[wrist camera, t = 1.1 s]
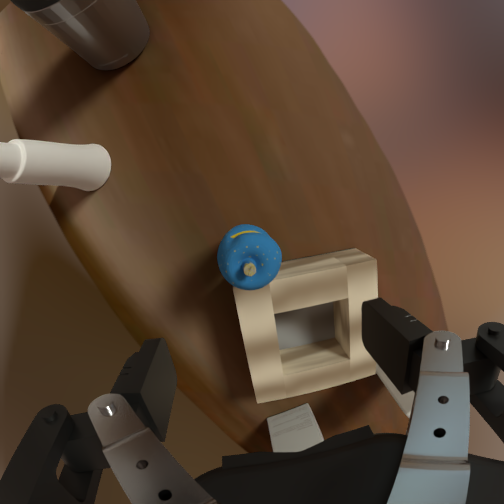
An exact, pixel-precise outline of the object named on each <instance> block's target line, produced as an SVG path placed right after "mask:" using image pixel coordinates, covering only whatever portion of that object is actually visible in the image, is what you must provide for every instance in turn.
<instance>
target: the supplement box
mask: <svg viewBox="0 0 504 504" xmlns="http://www.w3.org/2000/svg"><path fill="white" fill-rule="evenodd" d="M267 422H268V427H269V432H270V438H271V443H272V448H273V452H299V451H303V450H305V449H307V448H309V447H312V446H314V445H316V444H318V443H320V442H322V441H324V438H323V436H322V433H321V430H320V428H319V426H318V423H317V421H316V419H315V417H314V415H313V412H312V410H311V408H310V406H309V404H308V403H306V404H304V405H301V406H299V407H296V408H294V409H291V410H288V411H286V412H283V413H280V414H277V415H275V416H272V417H269V418H267Z"/></svg>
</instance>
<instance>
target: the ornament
mask: <svg viewBox="0 0 504 504" xmlns="http://www.w3.org/2000/svg"><path fill="white" fill-rule="evenodd" d="M217 261H218V266H219V269H220V271H221V273H222V275H223V277H224V278H225V279H226V280H227V281H228V282H229V283H230V284H231V285H233V286H234V287H236V288H239V289H242V290H257V289H260V288H263V287H265V286H266V285H268V284H269V283H270V282H271V281H272V280H273V279H274V278H275V277H276V275H277V274H278V272H279V269H280V266H281V261H282V255H281V250H280V248H279V246H278V245H277V243H276V242H275V241H274V240H273V239H272V238H270V236H269V235H268V234H267V233H266V232H265V231H264V230H263V229H261V228H259V227H257V226H253V225H248V224H242V225H238V226H235V227H234V228H232V229H231V230H230V231H229V232H227V234H226V235H225V236H224V237H223V239H222V241H221V243H220V245H219V249H218V253H217Z"/></svg>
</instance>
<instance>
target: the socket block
mask: <svg viewBox="0 0 504 504" xmlns="http://www.w3.org/2000/svg"><path fill="white" fill-rule="evenodd" d="M233 292H234V297H235V302H236V307H237V312H238V317H239V321H240V326H241V331H242V336H243V341H244V345H245V350H246V355H247V359H248V364H249V369H250V373H251V378H252V382H253V387H254V391H255V396H256V400H257V403H263V402H268V401H273V400H278V399H283V398H288V397H293V396H297V395H302V394H306V393H310V392H315V391H319V390H323V389H326V388H330V387H334V386H338V385H341V384H345V383H348V382H352V381H355V380H358V379H361V378H365V377H368V376H371V375H374V374H376V362H375V360H374V359H373V358H372V357H371V355H370V354H369V353H368V352H367V350H366V349H365V347H364V345H363V342H362V312H361V307H362V303H363V302H364V301H368V300H372V299H375V298H378V284H377V259H375V258H373V257H371V256H369V255H367V254H365V253H363V252H361V251H360V250H358V249H356V248H352V249H346V250H341V251H336V252H331V253H326V254H320V255H315V256H310V257H305V258H299V259H294V260H289V261H283V262H281V266H280V269H279V272H278V274H277V275H276V277H275V278H274V279H273V280H272V281H271V282H270V283H269V284H268V285H266V286H265V287H263V288H260V289H257V290H242V289H239V288H236V287H234V286H233Z"/></svg>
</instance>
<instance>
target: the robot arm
mask: <svg viewBox="0 0 504 504" xmlns="http://www.w3.org/2000/svg"><path fill="white" fill-rule="evenodd" d="M11 1H12V2H13V3H14V4H15V5H16V6H17V7H19V8H20V9H21V10H23V11H24V12H25V13H27V14H28V15H29V16H30V17H32V18H33V19H34V20H36V21H37V22H38V23H40V24H41V25H42V26H43V27H45V28H46V29H47V30H49V31H50V32H51V33H52V34H54V35H55V36H56V37H57V38H59V39H60V40H61V41H62V42H63V43H65V44H66V45H67V46H68V47H70V48H71V49H72V50H73V51H74V52H76V53H77V54H78V55H79V56H80V57H82V58H83V59H84V60H86V61H87V62H88V63H89V64H90V65H91V66H93V67H94V68H96V69H99V70H113V69H117V68H119V67H122V66H124V65H126V64H128V63H129V62H131V61H132V60H133V59H135V58H136V57H137V56H138V55H139V54H140V53H141V52H142V50H143V49H144V47H145V46H146V44H147V42H148V39H149V34H150V32H149V26H148V24H147V22H146V20H145V18H144V16H143V14H142V12H141V10H140V8H139V6H138V4H137V2H136V0H11ZM361 312H362V342H363V345H364V347H365V349H366V350H367V352H368V353H369V354H370V355H371V357H372V358H373V359H374V360H375V362H376V363H377V364H378V365H379V367H380V368H381V369H382V370H383V372H384V373H385V374H386V375H387V377H388V378H389V379H390V381H391V382H392V383H393V384H394V386H395V387H396V388H397V389H398V391H399V392H400V393H401V395H403V394H406V393H408V392H411V391H414V393H415V395H414V399H413V404H412V409H411V414H410V418H409V422H408V427H407V431H406V435H403V434H396V433H376V434H373V432H372V431H371V429H370V427H369V425H367V426H364V427H361V428H358V429H355V430H352V431H348V432H345V433H342V434H338V435H335V436H333V437H331V438H329V439H327V440H324V441H322V442H320V443H318V444H316V445H314V446H312V447H309V448H307V449H305V450H303V451H299V452H254V453H247V454H240V455H231V456H222V467H219V468H216V469H214V470H211V471H208V472H206V473H204V474H202V475H200V476H199V477H197V478H196V479H193V478H192V477H191V476H190V475H189V474H188V473H187V472H186V471H185V469H184V468H183V467H182V466H181V465H180V464H179V463H178V462H177V461H176V460H175V458H174V457H173V456H172V455H171V454H170V453H169V451H168V450H167V449H166V448H165V447H164V446H163V444H162V443H161V442H164V441H165V438H166V433H167V428H168V423H169V418H170V413H171V408H172V403H173V399H174V394H175V390H176V385H177V376H176V371H175V368H174V365H173V362H172V359H171V356H170V353H169V350H168V347H167V344H166V341H165V339H164V338H156V339H147V340H145V341H144V343H143V345H142V347H141V349H140V351H139V352H135V353H134V354H133V355H132V356H131V357H129V358H128V359H127V361H126V363H125V364H124V366H123V369H122V370H121V372H120V375H119V376H118V378H117V380H116V382H115V384H114V386H113V388H112V390H111V392H110V394H106V395H103V396H100V397H98V398H97V399H95V400H94V401H93V402H92V403H91V404H90V405H89V407H88V412H85V413H80V414H75V415H70V414H69V412H68V411H67V409H66V408H65V407H64V406H63V405H60V404H54V405H50V406H47V407H45V408H43V409H42V410H40V411H39V412H38V414H37V415H36V416H35V418H34V420H33V421H32V423H31V425H30V426H29V428H28V430H27V432H26V433H25V435H24V437H23V439H22V440H21V442H20V444H19V446H18V447H17V449H16V451H15V453H14V455H13V457H12V459H11V460H10V462H9V464H8V466H7V468H6V470H5V472H4V474H3V476H2V478H1V480H0V504H94V502H95V498H96V494H97V490H98V486H99V482H100V478H101V474H102V470H103V469H104V468H112V470H113V472H114V474H115V476H116V477H117V479H118V481H119V483H120V484H121V486H122V488H123V489H124V491H125V493H126V494H127V496H128V497H129V499H130V501H131V502H132V504H504V461H499V460H494V459H490V458H485V457H481V456H477V455H472V454H469V453H468V445H469V426H470V403H471V404H472V405H473V407H475V409H476V410H477V411H478V412H479V414H480V415H481V416H482V417H483V418H484V420H485V421H486V422H487V423H488V424H489V425H490V427H491V428H492V429H493V430H494V432H495V433H496V434H497V435H498V436H499V438H500V439H501V440H502V441H503V443H504V385H502V384H501V382H499V381H498V380H497V379H498V376H499V373H500V370H503V371H504V325H503V324H501V323H497V322H487V323H484V324H482V325H481V326H479V328H478V332H477V337H476V338H472V339H466V340H461V339H460V337H458V335H456V334H454V333H452V332H449V331H435V332H433V331H431V330H430V329H429V328H427V327H426V326H425V325H424V324H422V323H421V322H420V321H418V320H416V318H415V317H413V316H411V314H409V313H408V312H407V311H405V310H404V309H402V308H399V307H396V306H391V305H389V304H388V303H387V302H386V301H384V300H383V299H382V298H375V299H372V300H368V301H364V302H363V303H362V307H361ZM60 458H61V459H62V460H63V461H64V462H65V465H64V467H63V470H62V472H61V475H60V477H59V480H58V479H57V476H56V468H57V466H58V463H59V461H60Z"/></svg>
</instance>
